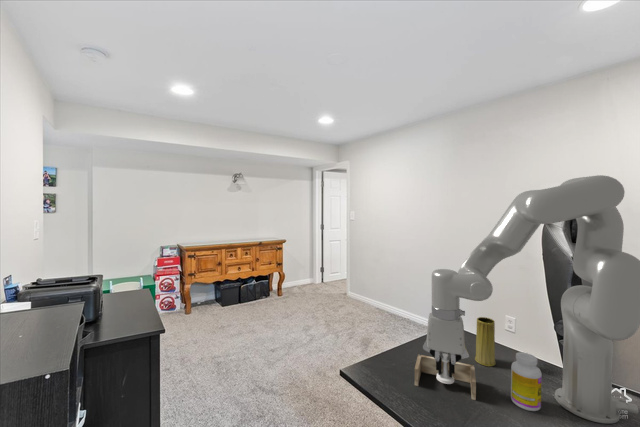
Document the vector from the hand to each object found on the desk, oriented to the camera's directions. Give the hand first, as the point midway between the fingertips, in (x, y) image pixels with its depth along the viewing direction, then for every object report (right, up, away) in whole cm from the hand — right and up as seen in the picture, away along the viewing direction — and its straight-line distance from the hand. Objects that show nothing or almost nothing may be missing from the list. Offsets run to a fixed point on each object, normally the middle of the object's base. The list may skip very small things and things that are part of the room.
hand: (445, 373), depth 87 cm
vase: (+19, -3, +12) cm, 23 cm away
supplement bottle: (+18, -4, -8) cm, 20 cm away
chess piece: (0, -2, 0) cm, 2 cm away
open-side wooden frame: (0, -3, 0) cm, 3 cm away
